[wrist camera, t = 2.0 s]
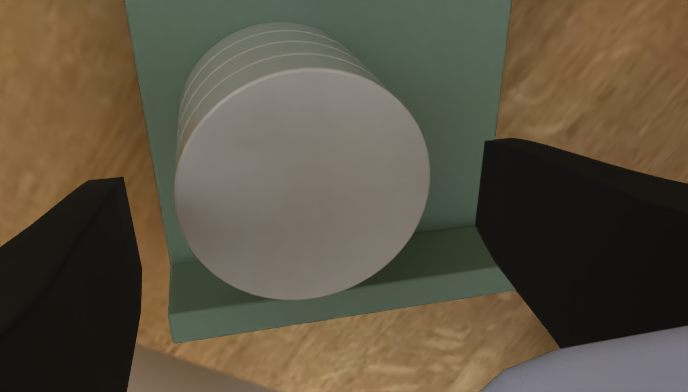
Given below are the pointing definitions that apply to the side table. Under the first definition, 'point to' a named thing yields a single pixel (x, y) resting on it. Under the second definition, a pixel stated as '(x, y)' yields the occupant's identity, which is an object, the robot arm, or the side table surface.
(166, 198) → the green end-lipped tray
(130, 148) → the side table surface
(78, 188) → the robot arm
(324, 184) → the saucers
